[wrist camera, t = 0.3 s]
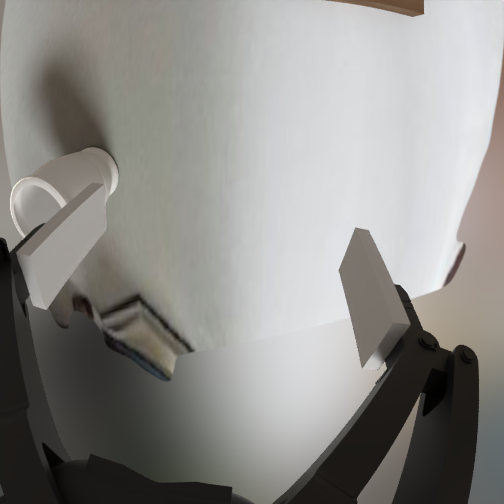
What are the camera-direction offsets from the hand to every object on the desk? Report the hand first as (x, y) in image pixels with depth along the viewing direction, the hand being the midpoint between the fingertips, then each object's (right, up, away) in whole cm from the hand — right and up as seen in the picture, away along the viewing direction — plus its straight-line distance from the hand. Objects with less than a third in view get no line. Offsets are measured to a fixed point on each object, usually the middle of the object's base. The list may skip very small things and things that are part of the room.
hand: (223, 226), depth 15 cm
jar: (-22, +11, +27) cm, 37 cm away
